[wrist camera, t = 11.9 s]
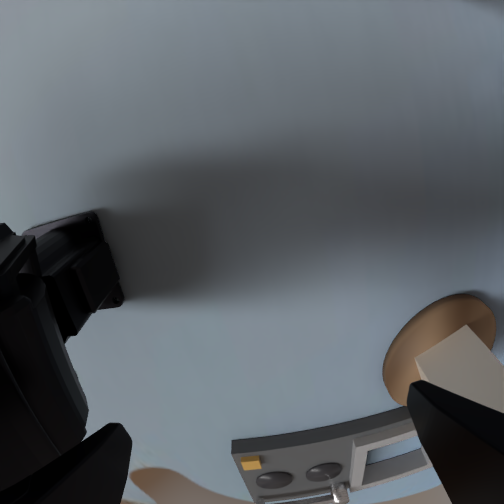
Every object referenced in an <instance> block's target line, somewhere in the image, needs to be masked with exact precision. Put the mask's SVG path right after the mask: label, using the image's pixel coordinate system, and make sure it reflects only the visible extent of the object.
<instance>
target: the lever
mask: <svg viewBox="0 0 504 504" xmlns="http://www.w3.org/2000/svg"><path fill="white" fill-rule="evenodd" d="M329 488H330V493H331V495H326V496H321V497H316V498H310V499H304V500H298V501H291V502H283V503H275V504H330V503H333V504H346V503H348V502H349V497H348V493H347V489H346V484H345V483H344V482H339V483H335V484H332V485H331V486H330V487H329ZM256 504H265V501H264V498H260V499H256Z"/></svg>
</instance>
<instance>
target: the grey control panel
mask: <svg viewBox="0 0 504 504" xmlns="http://www.w3.org/2000/svg"><path fill="white" fill-rule="evenodd" d="M417 435H418V434H417V432H416V429H415V426H414V424H413V421H412V418H411V416H410V413H409V411H408V408H407V406H404V407H401V408H398V409H394V410H391V411H388V412H384V413H381V414H377V415H373V416H370V417H366V418H362V419H358V420H354V421H350V422H345V423H341V424H337V425H332V426H327V427H322V428H317V429H312V430H307V431H301V432H295V433H289V434H283V435H276V436H269V437H261V438H252V439H243V440H232V449H231V454H232V457H233V459H234V461H235V463H236V465H237V467H238V470H239V472H240V474H241V476H242V478H243V480H244V482H245V484H246V486H247V489H248V491H249V493H250V495H251V497H252V499H253V501H254V503H256V499H260V498H264V501H265V502H272V501H280V500H288V499H295V498H302V497H308V496H314V495H319V494H324V493H329V492H330V488H329V487H330V486H331V485H332V484H335V483H339V482H344V483H345V484H346V489H347V488H349V489H350V492H354V491H358V490H362V489H366V488H370V487H373V486H377V485H380V484H384V483H387V482H390V481H393V480H396V479H399V478H402V477H405V476H408V475H411V474H414V473H417V472H419V471H422V470H425V469H427V468H430V467H433V465H432V463H431V461H430V459H429V457H428V456H427V454H426V452H425V450H424V448H423V446H421V449H418V450H415V451H412V452H409V453H406V454H403V455H400V456H397V457H394V458H391V459H388V460H384V461H381V462H377V463H374V464H370V465H367V466H365V464H366V458H367V452H368V451H369V450H373V449H376V448H380V447H383V446H387V445H390V444H393V443H396V442H400V441H403V440H406V439H409V438H412V437H414V436H417Z"/></svg>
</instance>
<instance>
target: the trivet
mask: <svg viewBox="0 0 504 504" xmlns="http://www.w3.org/2000/svg"><path fill="white" fill-rule="evenodd" d="M465 325H467V326H468V327H469V328H470V329H471V330H472V331H473V332H474V333H475V334H476V335H477V336H478V338H479V339H480V340H481V341H482V342H483V343H484V344H485V345H486V346H487V347H488V349H489V350H490V351H491V349H492V346H493V343H494V340H495V335H496V321H495V317H494V314H493V312H492V311H491V309H490V308H489V307H487V306H486V305H485V304H484V303H483V302H482V301H481V300H480V299H478V298H477V297H475V296H472V295H468V294H456V295H451V296H448V297H445V298H442V299H440V300H438V301H436V302H434V303H432V304H430V305H429V306H427V307H426V308H424V309H423V310H421V311H420V312H419V313H418V314H416V315H415V316H414V317H413V318H412V319H411V320H410V321H409V322H408V323H407V324H406V325H405V326H404V327H403V328H402V329H401V331H400V332H399V333H398V335H397V336H396V337H395V339H394V340H393V342H392V344H391V345H390V347H389V349H388V352H387V354H386V356H385V360H384V363H383V374H382V375H383V381H384V383H385V386H386V388H387V390H388V392H389V394H390V396H391V397H392V399H393V400H394V401H396V402H397V403H399V404H401V405H404V406H407V396H408V391H409V386H410V384H411V383H412V382H415V381H418V380H421V377H420V374H419V370H418V367H417V364H416V361H415V357H417V356H418V355H420V354H422V353H423V352H425V351H427V350H428V349H430V348H431V347H433V346H435V345H436V344H438V343H439V342H441V341H442V340H444V339H445V338H447V337H448V336H450V335H451V334H453V333H454V332H456V331H457V330H459V329H460V328H462V327H463V326H465Z"/></svg>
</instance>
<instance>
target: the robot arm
mask: <svg viewBox="0 0 504 504" xmlns="http://www.w3.org/2000/svg"><path fill="white" fill-rule="evenodd" d="M88 217H90V218H91V219H92V223H90V222H89V221H88ZM114 297H116V298H118V299H119V301H117V300H115V298H114ZM124 300H125V299H124V295H123V292H122V290H121V287H120V284H119V275H118V272H117V269H116V267H115V264H114V261H113V257H112V254H111V251H110V248H109V245H108V243H107V242H106V241H105V239H104V236H103V233H102V229H101V226H100V223H99V219H98V216H97V214H96V213H95V212H92V211H89V212H85V213H82V214H78V215H75V216H71V217H68V218H64V219H61V220H57V221H54V222H51V223H47V224H44V225H41V226H38V227H34V228H31V229H28V230H26V231H24V232H23V233H22V236H18V235H16V233H15V232H13V231H12V230H11V229H10V228H9V227H8V226H7V225H6V224H5V223H0V504H120V503H121V499H122V495H123V492H124V488H125V484H126V480H127V476H128V469H129V463H130V456H131V450H132V439H131V437H130V436H129V434H128V433H127V431H126V430H125V428H124V427H123V425H122V424H120V423H108V424H107V425H105V426H104V427H102V428H101V429H100V430H98V431H97V432H95V433H94V434H92V435H91V436H89V437H88V438H86V439H85V440H83V438H84V437H85V435H86V432H87V431H86V428H85V426H86V422H87V417H88V411H89V409H88V405H87V400H86V396H85V394H84V392H83V390H82V387H81V385H80V383H79V380H78V377H77V374H76V372H75V370H74V368H73V366H72V363H71V361H70V358H69V355H68V353H67V350H66V347H65V343H66V342H67V340H68V339H69V337H70V336H76V335H77V334H78V333H79V331H80V330H81V328H82V327H83V325H84V324H85V323H86V321H87V320H88V319H89V317H90V316H91V314H92V313H95V312H96V311H97V310H101V309H108V308H116V307H120V306H121V305H122V304H123V302H124ZM407 408H408V411H409V413H410V416H411V418H412V421H413V424H414V426H415V429H416V432H417V434H418V437H419V440H420V442H421V444H422V446H423V448H424V450H425V452H426V454H427V456H428V457H429V459H430V461H431V463H432V465H433V467H434V469H435V471H436V473H437V475H438V477H439V479H440V481H441V482H442V484H443V486H444V488H445V490H446V492H447V494H448V496H449V498H450V500H451V502H452V504H504V413H502V412H499V411H497V410H494V409H492V408H489V407H487V406H484V405H482V404H479V403H477V402H474V401H472V400H470V399H467V398H465V397H462V396H460V395H458V394H455V393H453V392H450V391H448V390H446V389H443V388H441V387H439V386H436V385H434V384H432V383H429V382H427V381H425V380H418V381H415V382H412V383H411V384H410V386H409V391H408V396H407ZM82 440H83V441H82ZM81 441H82V442H81Z"/></svg>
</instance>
